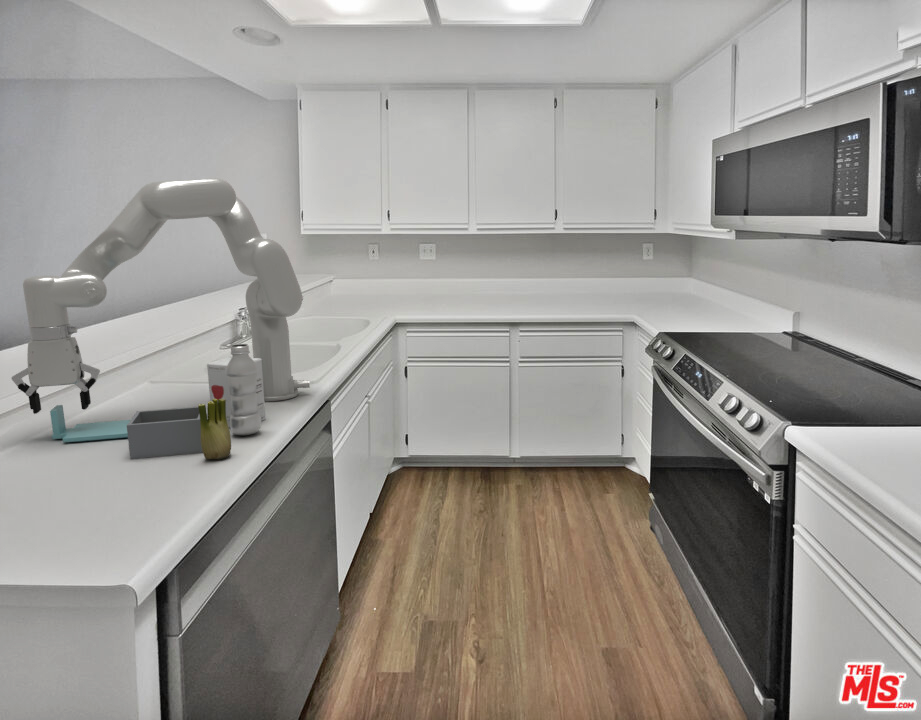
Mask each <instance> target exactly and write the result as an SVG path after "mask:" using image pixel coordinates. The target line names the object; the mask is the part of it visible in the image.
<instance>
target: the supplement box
mask: <svg viewBox="0 0 921 720" xmlns="http://www.w3.org/2000/svg"><path fill="white" fill-rule="evenodd" d="M231 358H232V355H231V356H228V357H224V358H221V359H218V360H214V361H210V362H208V363H207V364H206V368H207V378H208V389H209V390H208V391H209V392H208V393H209V401H212V399H218V400H219V399H225V400H226V419H227V424H228V427H229V429H231V428H230V415H231V394H230V388H229V383H228V379H227V375H226V368H227V365H228V363H229V361H230V360H231ZM250 358H251V359H252V360H253V361H254V362H255V364H256V366H257V382H256V398H257V405H258V412H259V414H260V418H261V422H262V421H265V420H266V411H265V408H266V407H265V401H264V390H263V375H262V359H260V358H253V357H250ZM212 402H213V401H212Z"/></svg>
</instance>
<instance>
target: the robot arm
mask: <svg viewBox="0 0 921 720" xmlns="http://www.w3.org/2000/svg"><path fill="white" fill-rule="evenodd" d="M196 218H197V219H198V218H199V219H200V218H209V219H210V220H212V221H213V222H214V223H215V225H217V227H218V229H219V230H220V232H221V233H222V236H223V237H224V240H225V242H226V245H227V247H228V249H229V252H230V255H231V257H232V259H233V262H234V264H235V267H236V268H237V270H238V271H239V272H240V273H242V274H244V275H245V276H249V277H256V279H255V280H253V281H252V282H251V283H249V285H248V287H247V289H246V291H245V304H246V309H247V314H248V316H249V321H250V322H249V323H250V330H251V331H250V332H251V344H252V345H251V346H252V358H260V359H262V375H263V390H264V402H277V401H284V400H285V401H286V400H290V399H293V398H295V397H297V396H299V389H302V388H303V389H308V388H310V387H311V386H310V380H304V379H299V380H297V379H294V376H293V375H292V365H291V363H292V362H291V361H292V360H291V347H290V333H289V332H290V331H289V325H288V320H287V318H289V317H293V316H294V315H296V314H297V313H298V312H299V311H300V309H301V307H302V303H303V294H302V293H303V292H302V290H301V287H300V283H299V281H298V278H297V276H296V272H295V271H294V268H293V265H292V263H291V260H290V258H289V255H288V253H287V252H286V250H285V249H284V247H283V245H282V246H281V244H280V243H278V242H277V241H275V240H273V239H270V238H263V236H262V235H261V232H260V230H259V227H258V226H257V223H256V220H255V218H254V217H253V215H252V213H251V211H250V209H249V208H248V207H247V205H246V204H245V202H243V201H242V200H241V199H240V198H239V197H238V196H237V194H236V191H235V189H234V187H233V186H232V185H231V184H230V183H229V182H227V181H226V180H224V179H221V178H205V179H192V180H163V181H154V182H150V183H146V184H145V185H144V186H142V187H141V188H140V189H139V190H138V191H137V193H135V195H134V196H133V197H132V198H131V200H129V202H128V203H127V205H125V206H124V208H123V209H122V210H121V212H120V213H118V215H117V216H116V217H115V218H114V220H113V221H112V222H111V223H110V224H109V225H108V226H107V227H106V229H105V230H104V231H102V232H101V233H100V234H99V235H98V236H97V237H96V238H95V239H94V240H93V241H91V243H89V244H88V245H87V246H86V247H85V248H84V249H83V250H82V251H81V252H80V253H79V254H77V257H76V258H74V260H73V261H72V262H71V264H70V265H68V267H67V268H66V269H65V271H64V272H63V273H62V274H61V275H60V276H57V275H35V276H29V277H27V278H25V279H24V280H23V284H22V287H23V289H22V290H23V295H24V302H25V309H26V314H27V322H28V327H29V334H30V340H29V341H28V342H27V358H26V359H27V361H26V362H27V367H26V368H25V369H23V370H22V371H19V372H18V373H16V374H15V375H13V376H11V380H12V381H13V383H14V384H15V385H16V386H17V388H18V390H20V391H22V392H23V393H24V394H25V395H26V396H27V397H28V401H29V407H30V410H32V412H33V414H34V415H35V414H38V413H40V412H41V411H42V406H41V398H40V397H41V396H40V394H39V392H37V391H38V389H39V388H40V387H41V388H43V387H44V388H45V387H57V386H70V385H75V386H76V387H77V388H78V389H80V390H81V391H80V392H79V398H80V405H81V409H82V410H84V411H85V410H87V409H88V407H89V406H90V405H91V402H92V401H91V394H90V389H91V388H92V387H93V385H95V383H96V382H97V380H98V378H99V376H100V373H101V370H100V369H99V368H96V367H93V366H92V365H89V364H86V363H84V362H83V359H82V355H81V351H80V347H79V344H78V341H77V338H76V336H75V337H74V336H72V335H73V334H75V333H76V334H77V333H78V327H77V326H72V325H71V323H70V320H69V316H68V315H69V313H68V308H81V309H82V308H84V309H85V308H94V307H96V306H98V305H100V304H101V303H103V301H104V300H105V299H106V296H107V293H108V292H107V291H108V290H107V285H106V283H105V282H104V280H105V278H106V277H107V276H108V275H109V274H110V273H112V272H113V270H115V269H116V268H117V267H118V266H120V265H122V264H123V263H125V262H127V261H129V260H132V259H133V258H135V257H137V256H138V255H139V254H140V253H141V252H142V251H143V250H144V249H146V246H148V244H149V243H150V242H151V240H152V239H153V238H154V236H156V234H157V233H159V230H160V229H161V228H162V227H163V226H164V225H165V223H167V221H168V220H185V219H186V220H188V219H196ZM85 373H88V374H90V375H91V376H90V377H89V380H88V381H86V380H85V379H84V378H85ZM27 375H28V380H29V381H28V382H29V384H30V385H29V384H27V383H26V382H24V380H23V378H24V377H26V376H27Z"/></svg>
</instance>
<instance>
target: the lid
mask: <svg viewBox="0 0 921 720" xmlns="http://www.w3.org/2000/svg"><path fill="white" fill-rule="evenodd" d="M49 415H50V420H51V421H50V423H51V427H52V435H51V438H52V440H57V439H62V443H70V442H71V443H77V442H78V443H79V442H88V441H89V442H90V441H102V440H114V439H115V440H116V439H128V433H127V424H128V423H129V421H130V420H131V419H124V420H121V419H120V420H111V421H109V420H108V421H100V422H99V421H97V422H96V421H95V422H87V423H85V422H84V423H76V424H75V426H73V427H70V428H69V427H68V428H67V427H66V419H65V411H64V406H63V404H57V405H55V406H54V407H53V408H52V409H50V411H49Z"/></svg>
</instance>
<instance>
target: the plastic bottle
mask: <svg viewBox="0 0 921 720" xmlns="http://www.w3.org/2000/svg"><path fill="white" fill-rule="evenodd" d="M249 354H251V352H250V348H249V344H247V343H237V344H232V345H230V355H231V357H232V358H231V360H230V361H229V363H228V365H227V368H226V375H227V379H228V383H229V388H230V394H231V415H230V428H229V429H230V432H231V433H233V434H234V435H235V436H250V435H253V434H256V433H258V432H259V431H260V429H261V425H262V421H261V418H260V414H259V412H258V405H257V398H256V382H257V366H256V364H255V362H254V361H253V360H252V359H251V358H252V357H251V356H250V355H249Z"/></svg>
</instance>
